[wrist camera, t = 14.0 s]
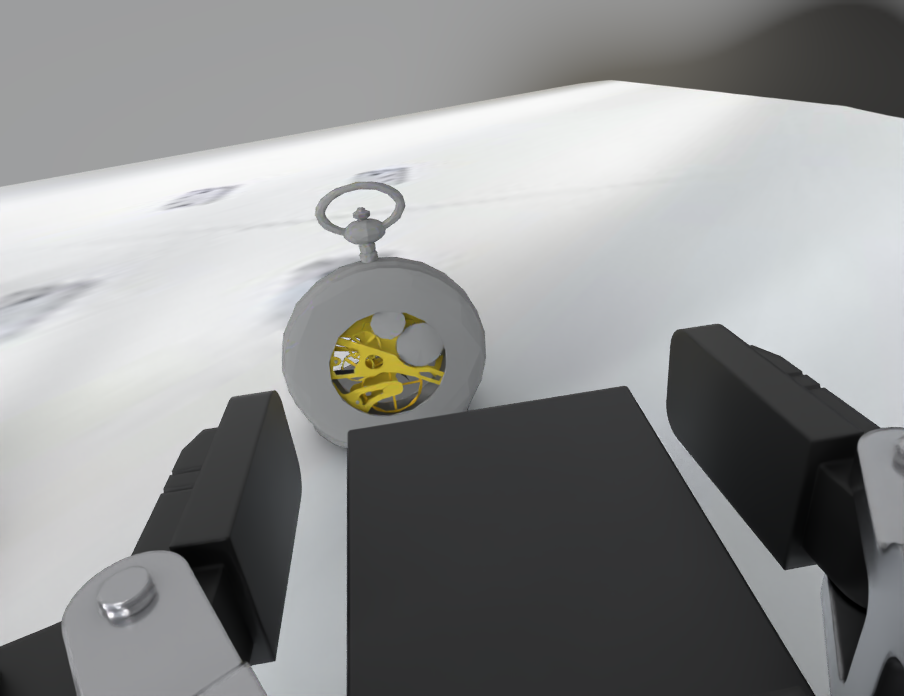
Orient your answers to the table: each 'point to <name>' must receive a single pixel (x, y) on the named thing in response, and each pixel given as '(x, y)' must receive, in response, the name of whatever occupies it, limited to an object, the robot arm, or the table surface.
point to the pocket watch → (380, 336)
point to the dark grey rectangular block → (542, 562)
